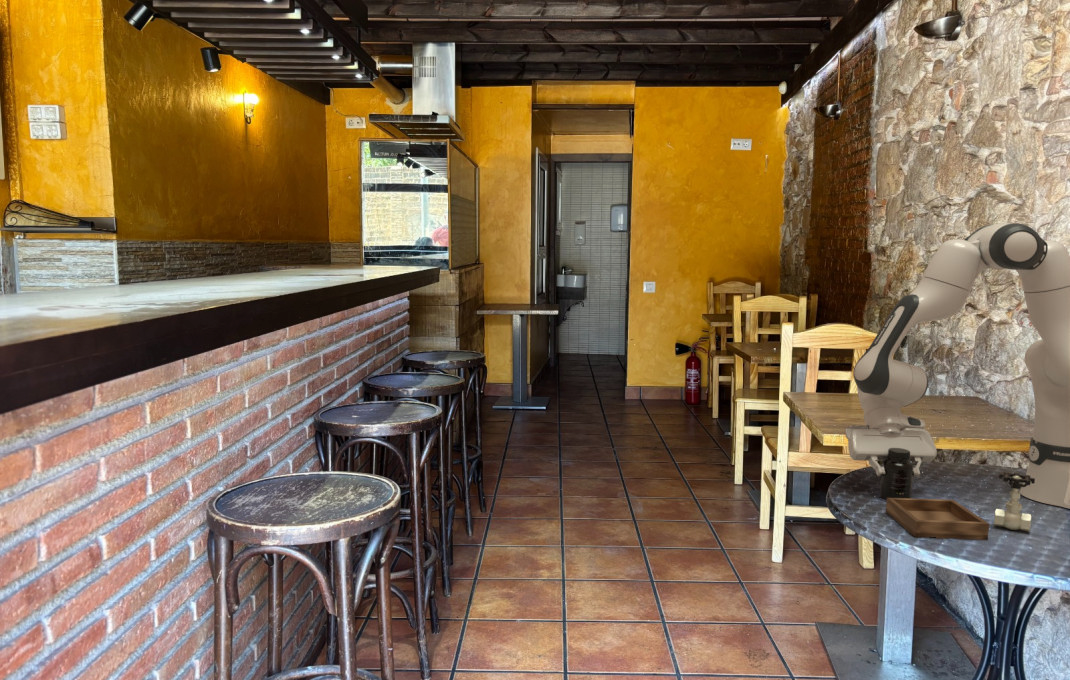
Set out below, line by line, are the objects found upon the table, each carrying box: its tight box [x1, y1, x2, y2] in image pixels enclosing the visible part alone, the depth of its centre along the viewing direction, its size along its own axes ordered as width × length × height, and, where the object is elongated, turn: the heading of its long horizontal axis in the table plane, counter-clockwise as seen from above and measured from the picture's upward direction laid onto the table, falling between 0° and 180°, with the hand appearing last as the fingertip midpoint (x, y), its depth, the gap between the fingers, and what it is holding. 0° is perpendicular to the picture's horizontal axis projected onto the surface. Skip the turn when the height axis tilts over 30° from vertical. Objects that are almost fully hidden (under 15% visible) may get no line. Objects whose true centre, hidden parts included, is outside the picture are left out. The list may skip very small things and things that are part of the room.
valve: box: [993, 471, 1035, 532], centre depth 166 cm, size 7×7×12 cm
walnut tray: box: [885, 498, 990, 541], centre depth 168 cm, size 15×15×4 cm
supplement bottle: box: [879, 448, 914, 500], centre depth 185 cm, size 7×7×12 cm
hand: (898, 475), depth 184 cm, fingers closed on supplement bottle, 7 cm apart
